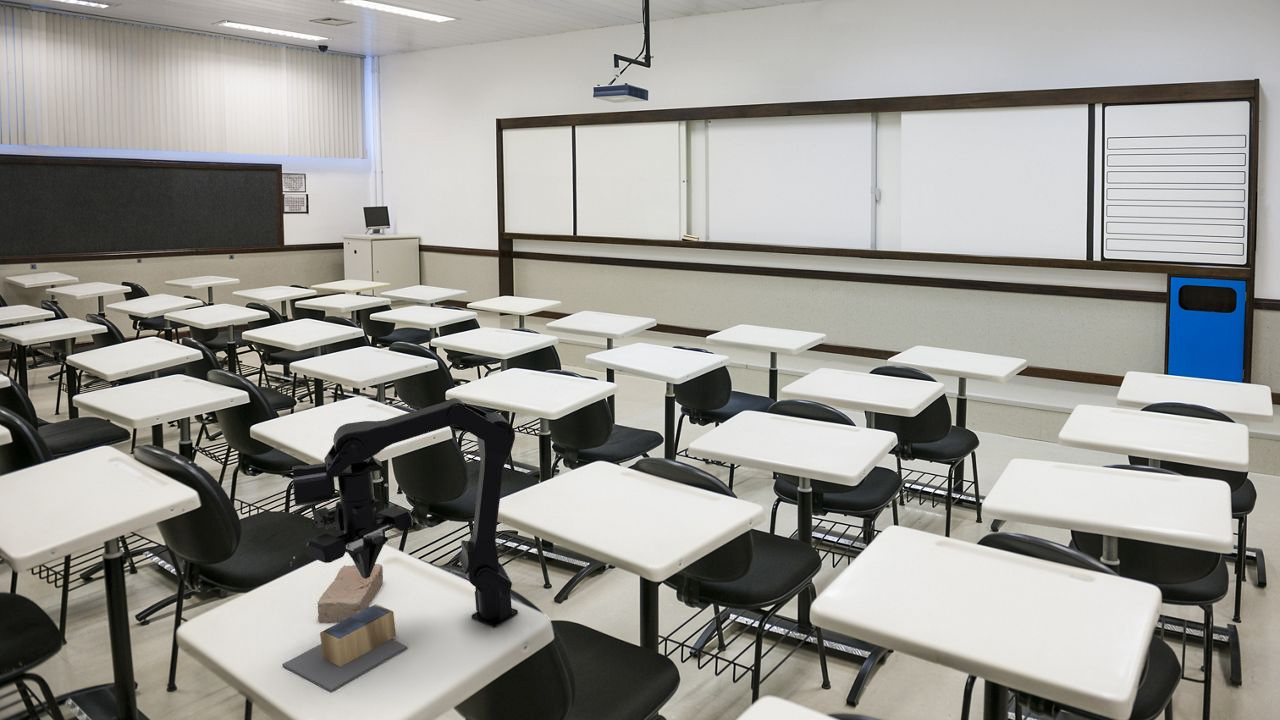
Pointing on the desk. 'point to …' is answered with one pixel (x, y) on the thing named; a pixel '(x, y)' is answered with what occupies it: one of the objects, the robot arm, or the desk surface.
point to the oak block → (357, 635)
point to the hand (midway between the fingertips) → (366, 577)
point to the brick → (349, 594)
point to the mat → (335, 676)
